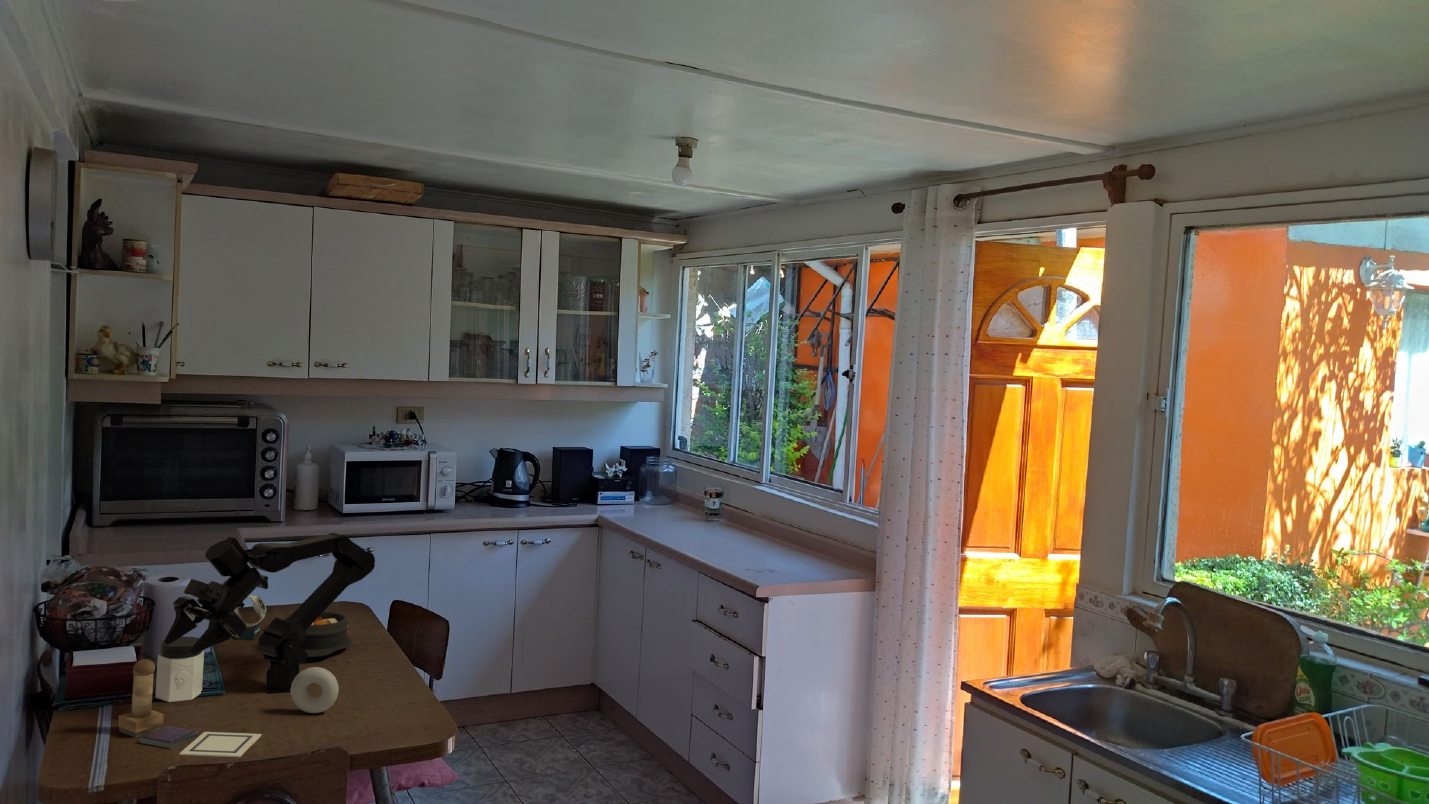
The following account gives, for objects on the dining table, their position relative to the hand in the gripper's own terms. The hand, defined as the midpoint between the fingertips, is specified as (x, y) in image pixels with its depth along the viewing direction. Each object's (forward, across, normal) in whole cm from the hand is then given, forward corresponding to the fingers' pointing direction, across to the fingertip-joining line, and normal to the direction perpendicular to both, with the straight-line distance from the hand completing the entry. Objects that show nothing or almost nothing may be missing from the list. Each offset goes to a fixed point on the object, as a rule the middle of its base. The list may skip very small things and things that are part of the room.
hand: (178, 648), depth 202 cm
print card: (+11, +20, +10) cm, 25 cm away
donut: (-6, +18, +24) cm, 31 cm away
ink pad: (+15, +10, +6) cm, 19 cm away
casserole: (-27, -20, +43) cm, 54 cm away
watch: (-24, -40, +40) cm, 62 cm away
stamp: (+16, +2, +6) cm, 17 cm away
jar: (+4, -11, +16) cm, 20 cm away
